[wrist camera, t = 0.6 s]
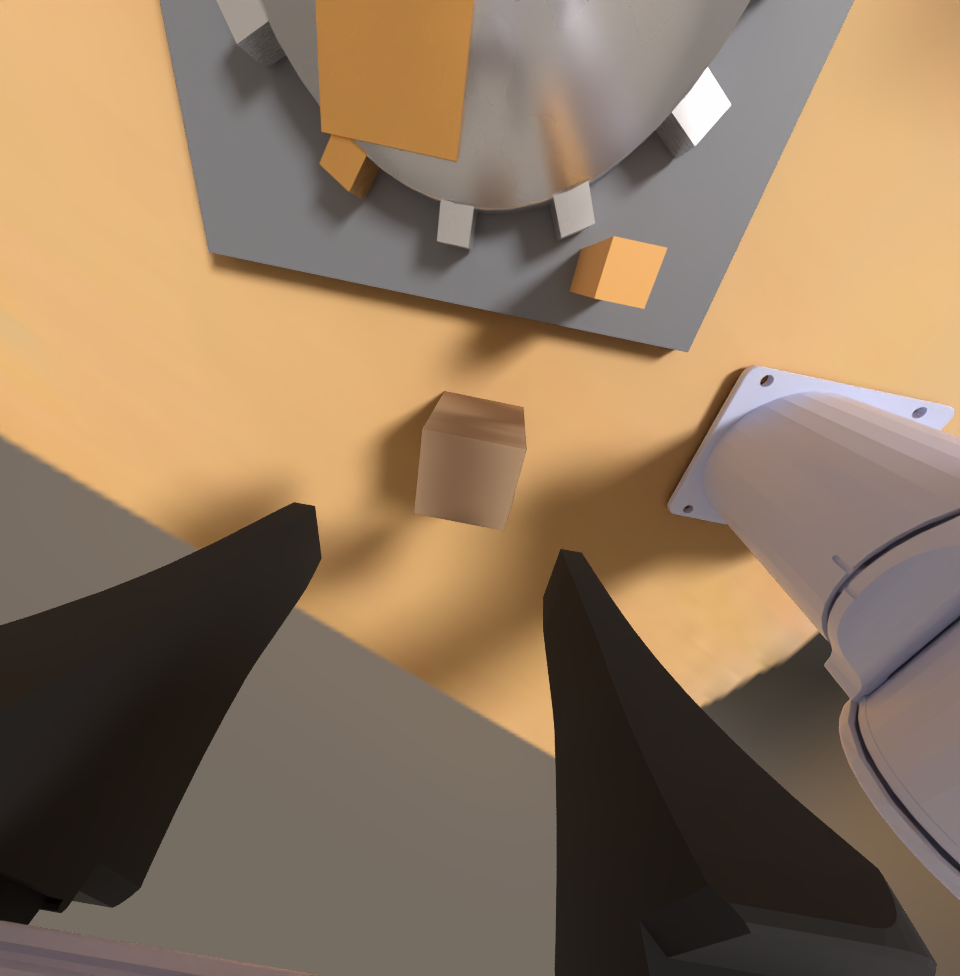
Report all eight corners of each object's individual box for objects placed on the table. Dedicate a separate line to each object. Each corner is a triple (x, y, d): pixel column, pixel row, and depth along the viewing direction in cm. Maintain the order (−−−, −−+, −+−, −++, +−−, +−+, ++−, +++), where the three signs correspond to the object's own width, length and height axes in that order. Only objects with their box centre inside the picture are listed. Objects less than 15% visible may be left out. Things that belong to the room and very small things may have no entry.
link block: (523, 407, 17) (526, 449, 13) (506, 475, 20) (503, 530, 15) (444, 391, 17) (422, 428, 13) (435, 461, 19) (414, 513, 15)
